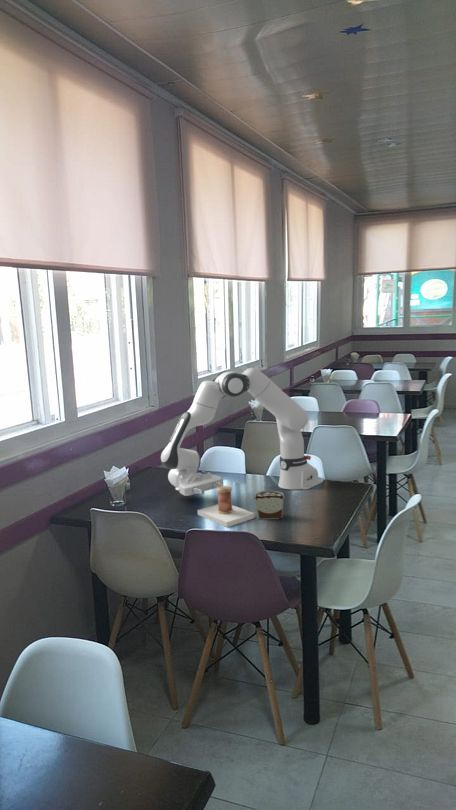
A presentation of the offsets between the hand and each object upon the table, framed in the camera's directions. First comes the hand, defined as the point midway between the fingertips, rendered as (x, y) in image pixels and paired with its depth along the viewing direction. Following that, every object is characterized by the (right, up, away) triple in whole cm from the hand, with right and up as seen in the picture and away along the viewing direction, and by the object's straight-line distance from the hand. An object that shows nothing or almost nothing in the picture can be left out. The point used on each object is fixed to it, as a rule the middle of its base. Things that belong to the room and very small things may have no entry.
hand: (212, 489), depth 237 cm
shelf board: (+6, -10, -5) cm, 13 cm away
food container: (+24, -10, -8) cm, 27 cm away
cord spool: (+6, -8, -5) cm, 11 cm away
